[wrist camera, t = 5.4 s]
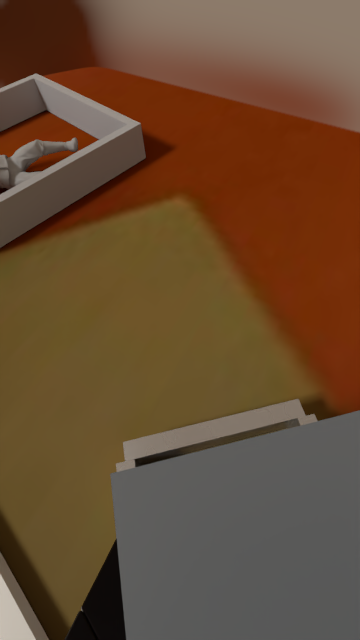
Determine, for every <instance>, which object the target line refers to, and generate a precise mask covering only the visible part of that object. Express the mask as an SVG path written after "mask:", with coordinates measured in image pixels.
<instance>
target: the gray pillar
mask: <svg viewBox="0 0 360 640" xmlns="http://www.w3.org/2000/svg"><path fill="white" fill-rule="evenodd" d="M111 484H112V495H113V505H114V516H115V526H116V537H117V548H118V558H119V569H120V579H121V590H122V600H123V611H124V621H125V632H126V640H360V411H356V412H352V413H348V414H344V415H340V416H336V417H332V418H328V419H324V420H320V421H317V422H313V423H309V424H305V425H301V426H297V427H293V428H289V429H285V430H281V431H277V432H273V433H269V434H265V435H261V436H257V437H253V438H249V439H245V440H241V441H238V442H234V443H230V444H226V445H222V446H218V447H214V448H210V449H206V450H202V451H198V452H194V453H190V454H186V455H182V456H178V457H174V458H170V459H166V460H162V461H159V462H155V463H151V464H147V465H143V466H139V467H135V468H131V469H127V470H123V471H119V472H115V473H111Z"/></svg>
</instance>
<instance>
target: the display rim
mask: <svg viewBox="0 0 360 640" xmlns="http://www.w3.org/2000/svg"><path fill="white" fill-rule="evenodd" d="M45 110H47V111H49V112H51V113H52V114H54V115H56V116H58V117H60V118H61V119H63V120H65V121H67V122H69V123H70V124H72V125H74V126H76V127H78V128H79V129H81V130H83V131H85V132H87V133H88V134H90V135H92V136H94V137H96V138H97V139H99V140H98V141H96V142H95V143H93V144H91V145H89V146H87V147H85V148H84V149H82V150H80V151H78V152H76V153H75V154H73V155H71V156H69V157H67V158H65V159H64V160H62V161H60V162H58V163H56V164H55V165H53V166H51V167H49V168H47V169H46V170H44V171H42V172H40V173H38V174H36V175H35V176H33V177H31V178H29V179H27V180H26V181H24V182H22V183H20V184H18V185H16V186H15V187H13V188H11V189H9V190H7V191H6V192H4V193H2V194H0V248H1V247H2V246H4V245H6V244H7V243H9V242H10V241H12V240H14V239H15V238H17V237H19V236H20V235H22V234H23V233H25V232H27V231H28V230H30V229H32V228H33V227H35V226H36V225H38V224H40V223H41V222H43V221H45V220H46V219H48V218H49V217H51V216H53V215H54V214H56V213H58V212H59V211H61V210H62V209H64V208H66V207H67V206H69V205H70V204H72V203H74V202H75V201H77V200H79V199H80V198H82V197H83V196H85V195H87V194H88V193H90V192H92V191H93V190H95V189H96V188H98V187H100V186H101V185H103V184H105V183H106V182H108V181H109V180H111V179H113V178H114V177H116V176H118V175H119V174H121V173H122V172H124V171H126V170H127V169H129V168H131V167H132V166H134V165H135V164H137V163H139V162H140V161H142V160H143V159H145V158H146V155H145V148H144V142H143V135H142V129H141V123H139V122H136V121H134V120H132V119H130V118H128V117H126V116H124V115H122V114H120V113H118V112H116V111H114V110H111V109H109V108H107V107H105V106H103V105H101V104H99V103H97V102H95V101H93V100H91V99H89V98H86V97H84V96H82V95H80V94H78V93H76V92H74V91H72V90H70V89H68V88H66V87H64V86H61V85H59V84H57V83H55V82H53V81H51V80H49V79H47V78H45V77H43V76H40V75H38V74H34V75H32V76H29V77H27V78H24V79H22V80H19V81H17V82H15V83H12V84H10V85H8V86H5V87H3V88H1V89H0V131H3V130H5V129H7V128H9V127H11V126H13V125H15V124H17V123H19V122H22V121H24V120H26V119H28V118H30V117H32V116H34V115H36V114H38V113H41V112H43V111H45Z"/></svg>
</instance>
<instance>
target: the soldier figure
mask: <svg viewBox="0 0 360 640" xmlns="http://www.w3.org/2000/svg"><path fill="white" fill-rule="evenodd" d="M67 150H69V151H72V152H77V150H78V141H77V139H76V138H73V139H72V141H68V142H65V143H64V142H48V141H40V140H35V141H33V142H30V143H28V144H26V145H24V146H22V147H21V148H19V149H18V150H17V151H16V152H15V153H14V154H13V156H12V157H9V158H8V157H7V156H6V155H0V188H7V189H11V188H13V187H15V186H16V185H18V184H20V183H22V182H24V181H26V180H27V179H29V178H31V177H33V176H35V175H36V174H38V173H40V172H41V171H37V172H31V173H29V172H24V171H25V170H26V169H27V168H28V167H29V166H30V164H31V163H33V162H35V161H36V160H38V158H39V157H42V156H43V155H48V154H52V153H56V152H60V151H67Z"/></svg>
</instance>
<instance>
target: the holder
mask: <svg viewBox="0 0 360 640" xmlns="http://www.w3.org/2000/svg"><path fill="white" fill-rule="evenodd" d="M313 422H317V419H316V416H315V414H311V415H307V416H306V415H305V413H304V410H303V408H302V406H301V404H300V401H299V399H295V400H291V401H287V402H283V403H279V404H275V405H271V406H267V407H263V408H259V409H255V410H251V411H247V412H243V413H239V414H235V415H231V416H227V417H223V418H219V419H215V420H211V421H207V422H202V423H198V424H194V425H190V426H186V427H182V428H178V429H174V430H170V431H166V432H162V433H158V434H154V435H150V436H146V437H142V438H138V439H134V440H130V441H126V442H123V447H124V455H125V462H121V463H117V464H116V468H117V472H119V471H123V470H127V469H131V468H135V467H139V466H142V465H144V464H148V463H152V462H156V461H160V460H164V459H167V458H171V457H175V456H179V455H183V454H187V453H191V452H195V451H199V450H203V449H207V448H211V447H215V446H219V445H223V444H227V443H231V442H234V441H238V440H242V439H246V438H250V437H254V436H258V435H262V434H266V433H270V432H274V431H278V430H282V429H286V428H287V429H289V428H293V427H297V426H301V425H305V424H309V423H313Z"/></svg>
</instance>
